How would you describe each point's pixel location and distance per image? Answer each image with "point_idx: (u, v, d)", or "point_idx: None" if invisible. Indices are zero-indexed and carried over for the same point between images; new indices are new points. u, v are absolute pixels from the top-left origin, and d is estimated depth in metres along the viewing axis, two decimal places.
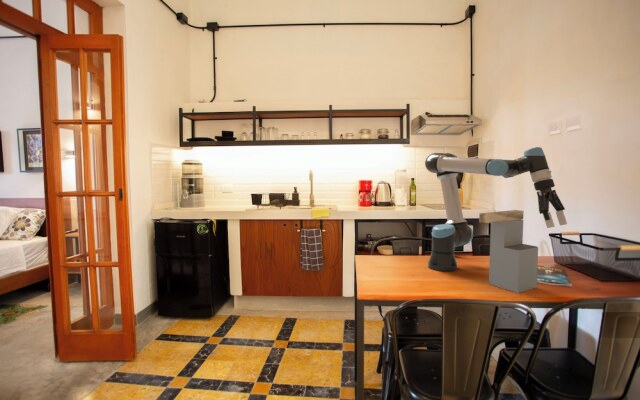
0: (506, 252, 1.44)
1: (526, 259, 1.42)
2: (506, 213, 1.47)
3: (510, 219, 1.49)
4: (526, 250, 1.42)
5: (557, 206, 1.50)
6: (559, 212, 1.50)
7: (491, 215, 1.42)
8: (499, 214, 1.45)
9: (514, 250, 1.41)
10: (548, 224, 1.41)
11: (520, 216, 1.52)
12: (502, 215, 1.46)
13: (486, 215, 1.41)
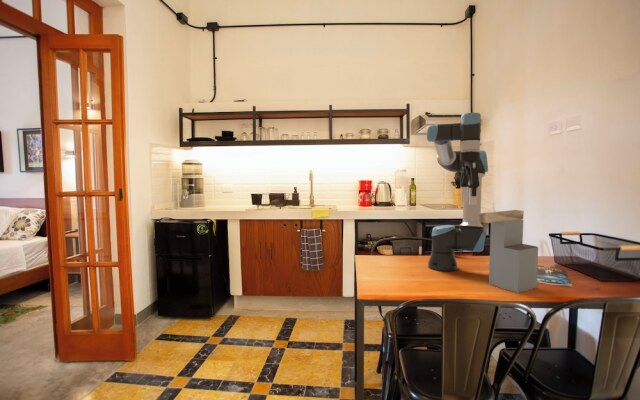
0: (506, 252, 1.44)
1: (526, 259, 1.42)
2: (506, 213, 1.47)
3: (510, 219, 1.49)
4: (526, 250, 1.42)
5: (466, 182, 1.40)
6: (465, 188, 1.41)
7: (491, 215, 1.42)
8: (499, 214, 1.45)
9: (514, 250, 1.41)
10: (472, 200, 1.28)
11: (520, 216, 1.52)
12: (502, 215, 1.46)
13: (486, 215, 1.41)
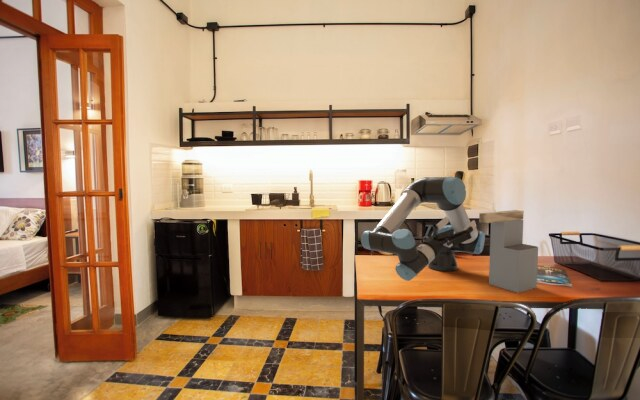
0: (506, 252, 1.44)
1: (526, 259, 1.42)
2: (506, 213, 1.47)
3: (510, 219, 1.49)
4: (526, 250, 1.42)
5: (436, 230, 1.39)
6: (439, 226, 1.40)
7: (491, 215, 1.42)
8: (499, 214, 1.45)
9: (514, 250, 1.41)
10: (473, 226, 1.30)
11: (520, 216, 1.52)
12: (502, 215, 1.46)
13: (486, 215, 1.41)
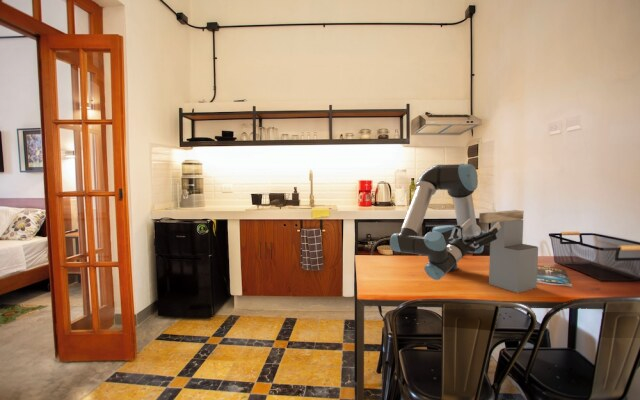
0: (506, 252, 1.44)
1: (526, 259, 1.42)
2: (506, 213, 1.47)
3: (510, 219, 1.49)
4: (526, 250, 1.42)
5: (461, 231, 1.45)
6: (463, 227, 1.47)
7: (491, 215, 1.42)
8: (499, 214, 1.45)
9: (514, 250, 1.41)
10: (498, 227, 1.36)
11: (520, 216, 1.52)
12: (502, 215, 1.46)
13: (486, 215, 1.41)
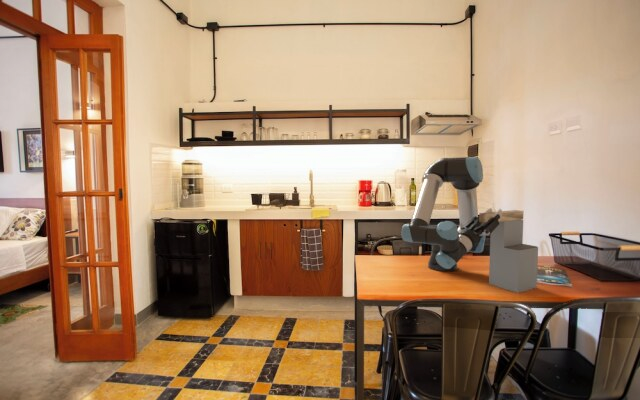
0: (506, 252, 1.44)
1: (526, 259, 1.42)
2: (506, 213, 1.47)
3: (510, 219, 1.49)
4: (526, 250, 1.42)
5: None
6: None
7: (491, 215, 1.42)
8: None
9: (514, 250, 1.41)
10: (500, 214, 1.44)
11: (520, 216, 1.52)
12: (502, 215, 1.46)
13: (486, 215, 1.41)
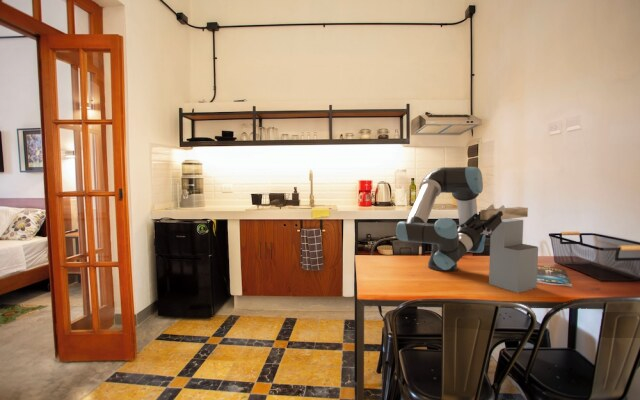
0: (506, 252, 1.44)
1: (526, 259, 1.42)
2: (509, 210, 1.36)
3: (513, 216, 1.38)
4: (526, 250, 1.42)
5: None
6: None
7: (493, 212, 1.31)
8: None
9: (514, 250, 1.41)
10: (503, 210, 1.33)
11: (524, 213, 1.41)
12: (505, 212, 1.35)
13: (488, 212, 1.31)
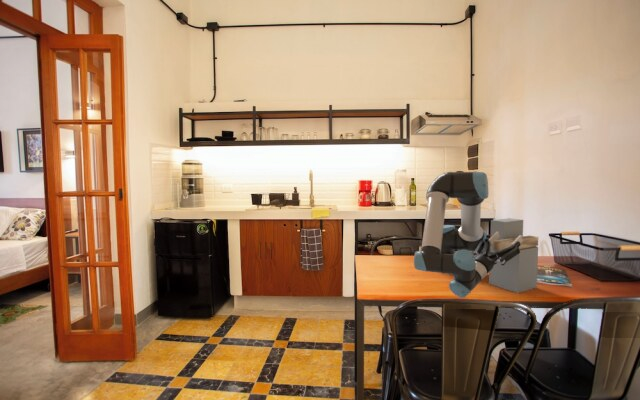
0: None
1: (526, 259, 1.42)
2: None
3: (525, 246, 1.43)
4: (526, 250, 1.42)
5: (487, 245, 1.41)
6: (491, 241, 1.43)
7: (506, 243, 1.37)
8: None
9: None
10: (520, 240, 1.35)
11: (535, 242, 1.47)
12: None
13: (501, 243, 1.36)
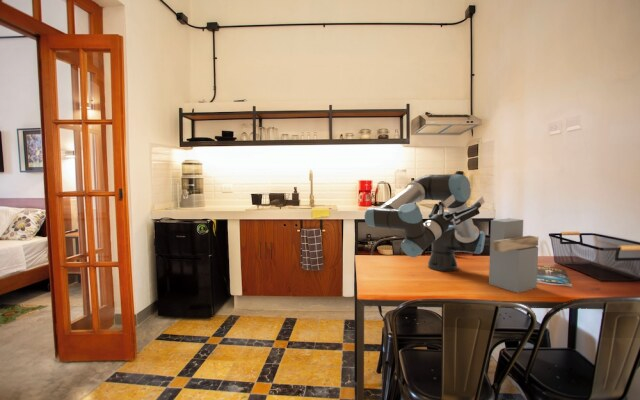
0: (506, 252, 1.44)
1: (526, 259, 1.42)
2: (521, 240, 1.42)
3: (525, 246, 1.43)
4: (526, 250, 1.42)
5: (442, 207, 1.34)
6: (445, 204, 1.36)
7: (506, 243, 1.37)
8: (514, 242, 1.39)
9: (514, 250, 1.41)
10: (481, 202, 1.26)
11: (535, 242, 1.47)
12: (517, 243, 1.40)
13: (501, 243, 1.36)
